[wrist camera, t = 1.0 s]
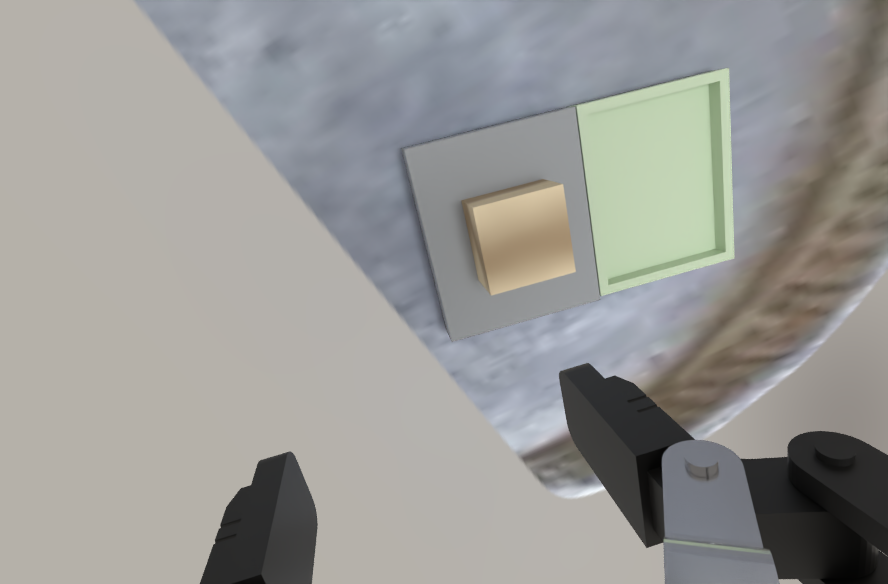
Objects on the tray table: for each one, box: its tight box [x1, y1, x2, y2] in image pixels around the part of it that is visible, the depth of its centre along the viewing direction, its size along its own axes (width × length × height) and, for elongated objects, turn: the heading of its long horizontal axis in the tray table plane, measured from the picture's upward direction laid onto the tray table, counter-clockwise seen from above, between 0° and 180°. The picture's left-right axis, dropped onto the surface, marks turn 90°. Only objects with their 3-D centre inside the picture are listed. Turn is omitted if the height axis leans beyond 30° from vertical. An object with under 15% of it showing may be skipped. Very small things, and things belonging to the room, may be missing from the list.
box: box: [566, 68, 734, 296], centre depth 32 cm, size 12×10×2 cm
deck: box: [401, 107, 600, 342], centre depth 30 cm, size 12×10×2 cm
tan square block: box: [461, 179, 576, 296], centre depth 28 cm, size 5×5×3 cm
